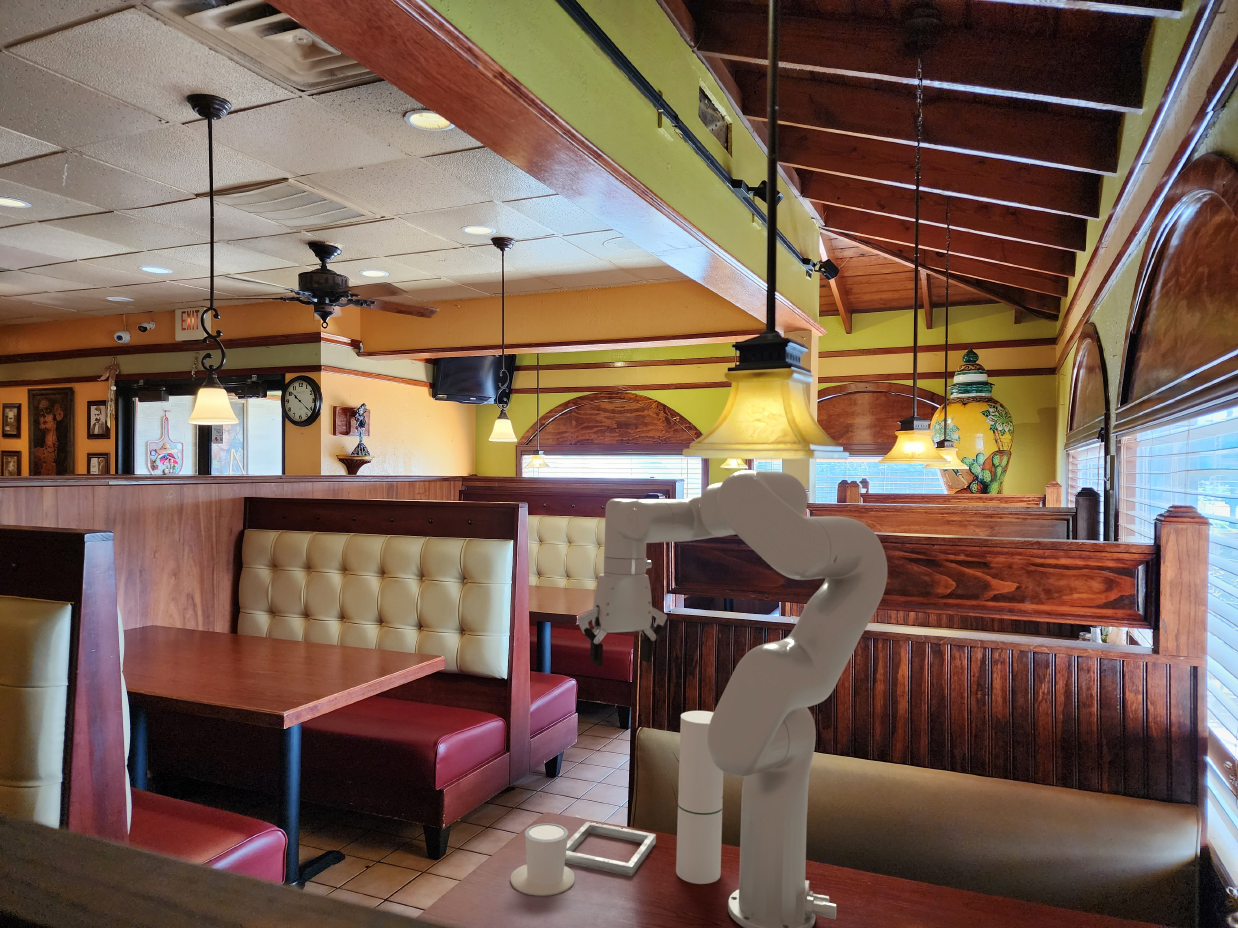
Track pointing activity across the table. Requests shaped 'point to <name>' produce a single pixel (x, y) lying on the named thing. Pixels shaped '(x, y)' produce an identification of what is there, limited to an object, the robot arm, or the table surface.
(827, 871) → the table surface
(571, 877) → the cream flat disc
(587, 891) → the table surface
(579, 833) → the holder collar
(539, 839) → the white cup
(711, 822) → the cylindrical container
